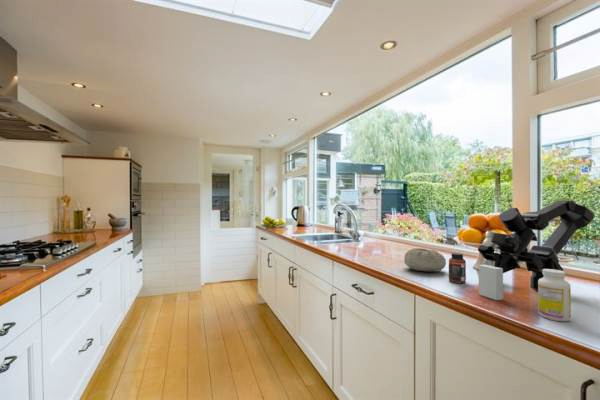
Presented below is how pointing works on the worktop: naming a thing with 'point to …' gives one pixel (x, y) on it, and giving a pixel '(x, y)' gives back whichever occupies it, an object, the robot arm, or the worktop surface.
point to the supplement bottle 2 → (554, 296)
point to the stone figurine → (489, 243)
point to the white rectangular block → (491, 282)
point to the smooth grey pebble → (424, 260)
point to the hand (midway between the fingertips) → (495, 274)
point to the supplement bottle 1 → (457, 268)
